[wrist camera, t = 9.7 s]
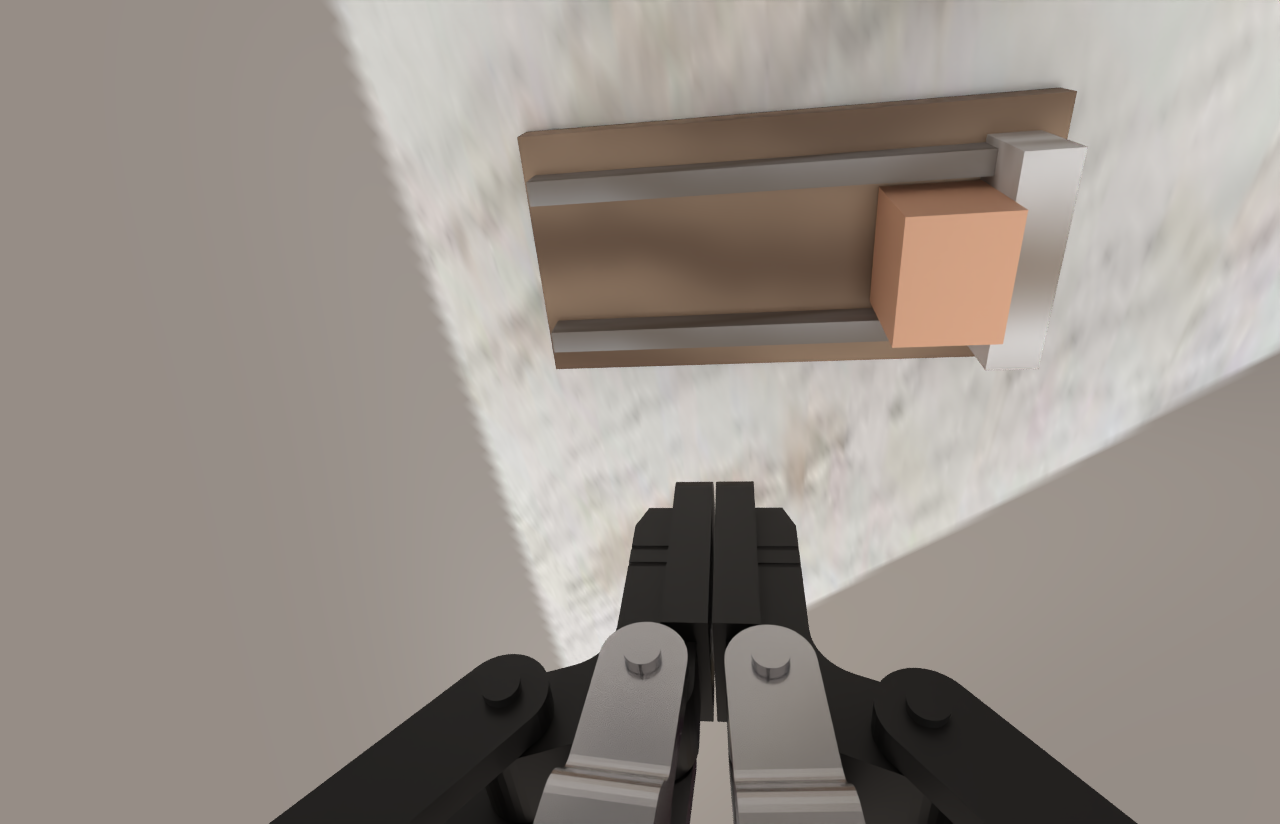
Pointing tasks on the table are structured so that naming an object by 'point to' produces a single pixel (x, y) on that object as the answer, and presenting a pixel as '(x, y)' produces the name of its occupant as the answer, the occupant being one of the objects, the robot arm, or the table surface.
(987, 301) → the orange-brown block
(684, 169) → the rail board
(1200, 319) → the table surface
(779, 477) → the table surface
